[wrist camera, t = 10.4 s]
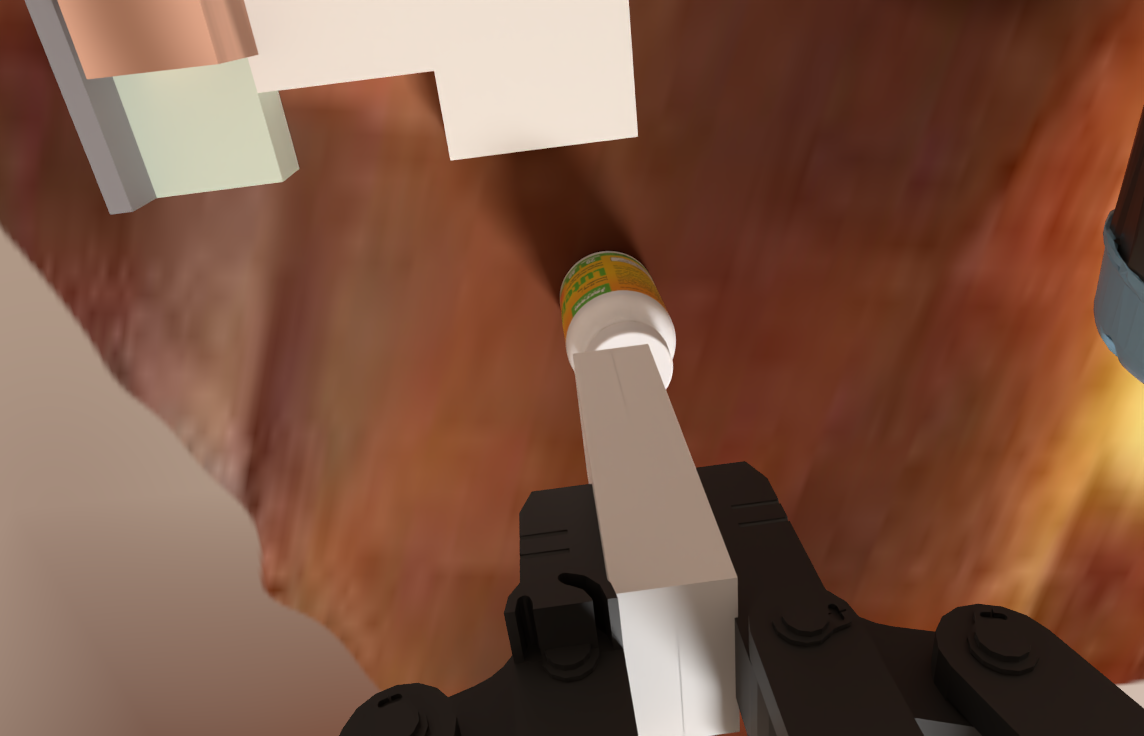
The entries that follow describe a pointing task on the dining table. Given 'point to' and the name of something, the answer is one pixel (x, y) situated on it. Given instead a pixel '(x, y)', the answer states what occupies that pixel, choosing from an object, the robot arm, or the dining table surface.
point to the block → (156, 34)
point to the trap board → (342, 54)
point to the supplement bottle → (615, 309)
